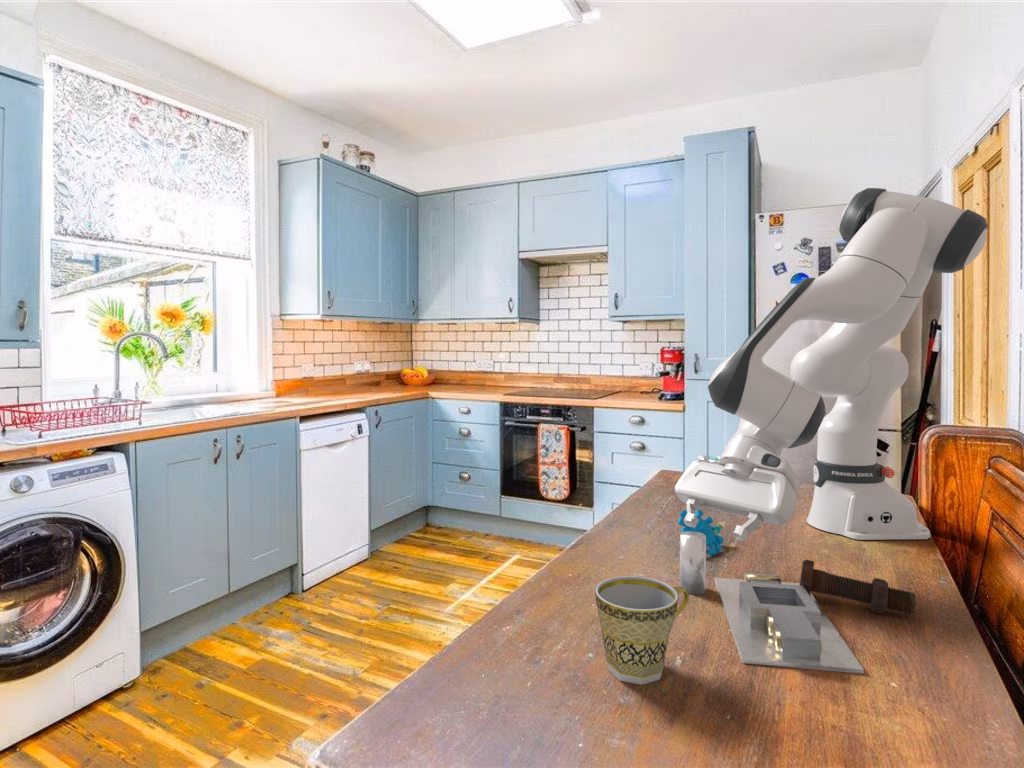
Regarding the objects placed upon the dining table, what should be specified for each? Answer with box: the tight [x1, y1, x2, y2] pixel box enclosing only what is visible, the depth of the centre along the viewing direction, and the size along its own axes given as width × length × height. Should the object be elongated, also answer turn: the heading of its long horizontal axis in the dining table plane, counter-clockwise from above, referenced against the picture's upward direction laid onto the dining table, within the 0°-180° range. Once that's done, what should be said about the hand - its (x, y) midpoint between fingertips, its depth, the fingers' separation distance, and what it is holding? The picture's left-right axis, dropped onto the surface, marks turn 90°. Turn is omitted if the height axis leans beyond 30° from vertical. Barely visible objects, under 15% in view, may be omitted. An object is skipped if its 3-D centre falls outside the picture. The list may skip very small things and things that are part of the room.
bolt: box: [799, 559, 917, 615], centre depth 91 cm, size 6×5×15 cm
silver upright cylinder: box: [679, 531, 707, 595], centre depth 98 cm, size 4×4×9 cm
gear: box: [677, 508, 725, 556], centre depth 118 cm, size 11×6×10 cm
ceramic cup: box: [594, 575, 690, 686], centre depth 75 cm, size 13×10×10 cm
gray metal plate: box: [714, 571, 865, 675], centre depth 87 cm, size 14×26×4 cm, turn 169°
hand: (712, 531), depth 100 cm, fingers open, 8 cm apart
